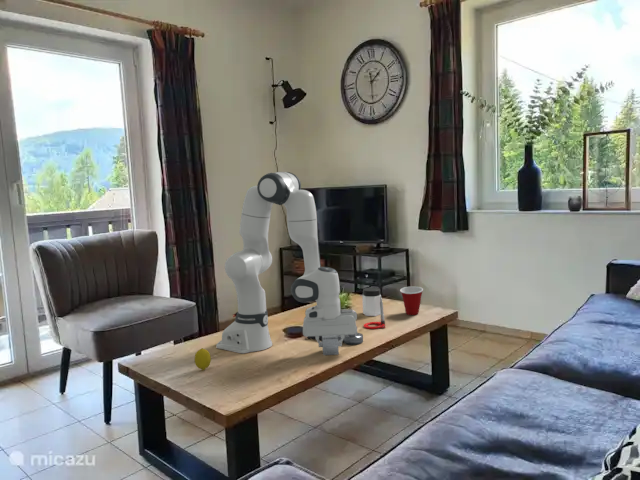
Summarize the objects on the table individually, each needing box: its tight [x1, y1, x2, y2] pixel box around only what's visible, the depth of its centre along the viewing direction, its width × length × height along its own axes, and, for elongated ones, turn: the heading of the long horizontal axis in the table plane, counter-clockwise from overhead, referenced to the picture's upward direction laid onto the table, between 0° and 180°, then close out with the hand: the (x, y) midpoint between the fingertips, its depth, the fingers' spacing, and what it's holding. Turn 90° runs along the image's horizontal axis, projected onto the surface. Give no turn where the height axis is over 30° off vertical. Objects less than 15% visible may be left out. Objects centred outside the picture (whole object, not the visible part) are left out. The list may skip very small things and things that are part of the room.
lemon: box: [194, 348, 212, 371], centre depth 177 cm, size 6×6×8 cm
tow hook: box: [363, 296, 386, 330], centre depth 220 cm, size 8×13×9 cm
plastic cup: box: [399, 286, 424, 316], centre depth 237 cm, size 11×11×12 cm
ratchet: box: [307, 325, 364, 346], centre depth 204 cm, size 23×8×6 cm, turn 67°
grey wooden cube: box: [321, 335, 340, 356], centre depth 190 cm, size 6×6×6 cm
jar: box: [361, 287, 382, 317], centre depth 240 cm, size 9×8×12 cm
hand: (330, 346), depth 190 cm, fingers closed on grey wooden cube, 6 cm apart
